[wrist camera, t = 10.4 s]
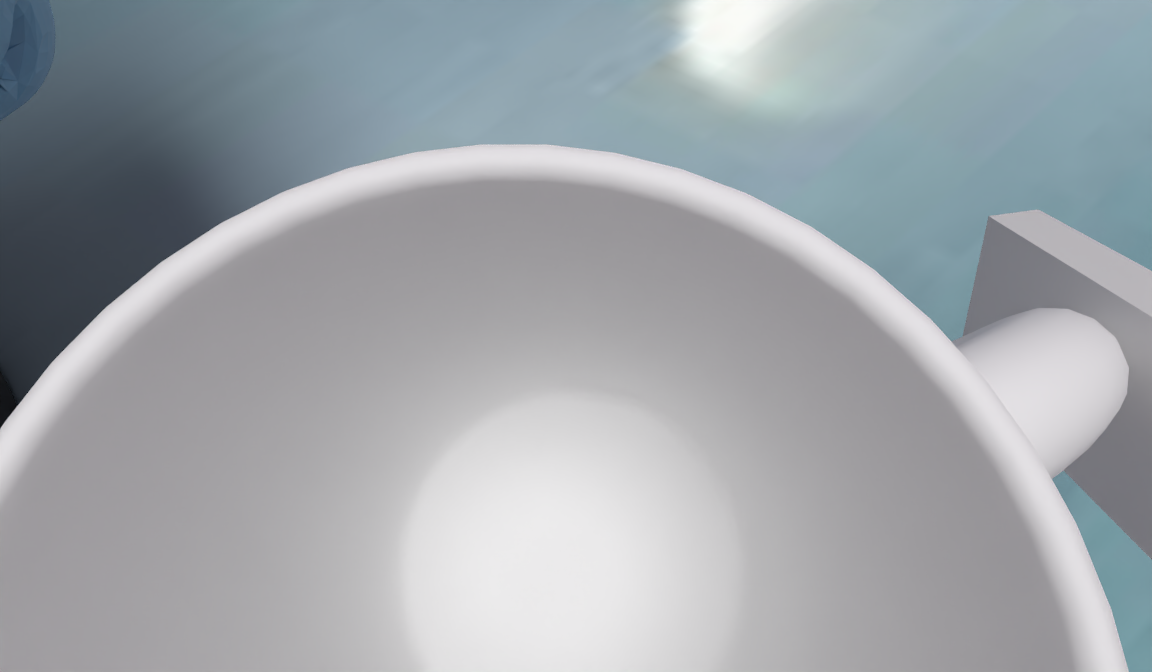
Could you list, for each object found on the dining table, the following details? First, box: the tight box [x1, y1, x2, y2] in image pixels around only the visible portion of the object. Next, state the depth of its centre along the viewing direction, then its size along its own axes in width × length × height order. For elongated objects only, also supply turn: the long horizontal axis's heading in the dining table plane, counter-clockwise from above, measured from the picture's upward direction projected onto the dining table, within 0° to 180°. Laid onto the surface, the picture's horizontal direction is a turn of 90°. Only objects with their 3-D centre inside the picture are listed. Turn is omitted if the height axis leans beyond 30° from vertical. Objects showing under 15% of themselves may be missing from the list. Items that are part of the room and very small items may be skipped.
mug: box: [0, 145, 1129, 672], centre depth 9 cm, size 12×8×10 cm
